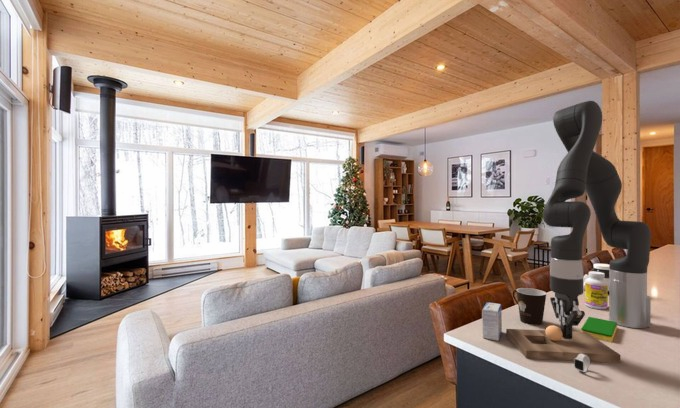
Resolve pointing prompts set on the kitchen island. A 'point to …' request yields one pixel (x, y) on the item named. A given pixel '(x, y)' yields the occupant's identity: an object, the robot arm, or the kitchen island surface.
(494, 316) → the medicine box
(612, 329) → the dish sponge
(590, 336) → the walnut board
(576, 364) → the smartwatch
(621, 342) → the kitchen island surface
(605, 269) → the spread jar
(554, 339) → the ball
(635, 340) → the kitchen island surface
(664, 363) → the kitchen island surface
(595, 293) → the supplement bottle
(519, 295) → the coffee mug
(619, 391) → the kitchen island surface
